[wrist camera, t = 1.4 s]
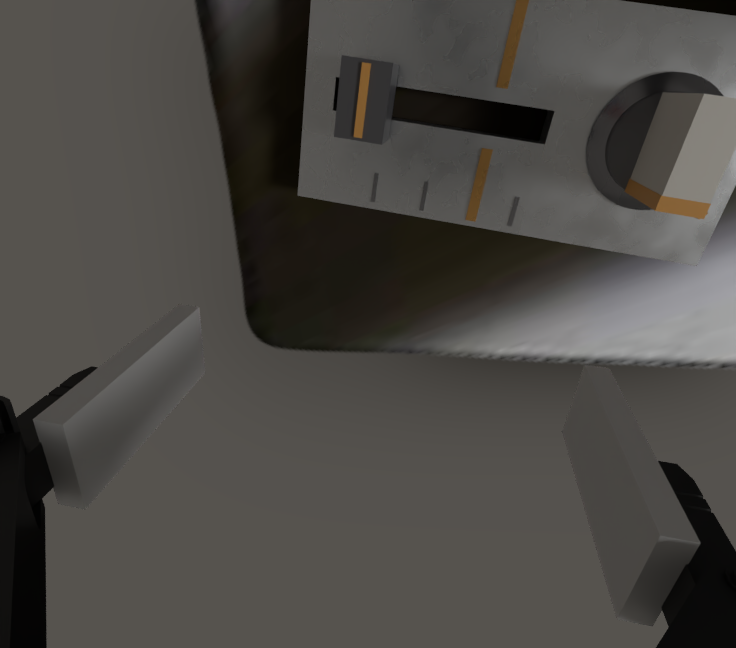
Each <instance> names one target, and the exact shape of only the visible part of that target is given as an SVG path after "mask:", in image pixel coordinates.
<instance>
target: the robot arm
mask: <svg viewBox="0 0 736 648" xmlns="http://www.w3.org/2000/svg"><path fill="white" fill-rule="evenodd" d="M204 374H205V364H204V354H203V344H202V332H201V320H200V309H199V307H196V306H189V305H182V304H178V305H177V306H176V307H174V308H173V309H172V310H171V311H169V312H168V313H167V314H166V315H164V316H163V317H162V318H160V319H159V320H158V321H157V322H155V323H154V324H153V325H152V326H150V327H149V328H148V329H147V330H145V331H144V332H143V333H142V334H140V335H139V336H138V337H136V338H135V339H134V340H133V341H131V342H130V343H129V344H128V345H126V346H125V347H124V348H123V349H121V350H120V351H119V352H117V353H116V354H115V355H114V356H112V357H111V358H110V359H109V360H107V361H106V362H105V363H104V364H102V365H101V366H100V367H98V368H97V367H89V368H87V369H85V370H83V371H80V372H78V373H76V374H74V375H72V376H71V377H70V378H68V379H67V380H66V381H64V382H63V383H62V384H60V387H57V388H55V389H54V390H52V391H51V392H50V393H49V395H48V396H47V395H46V396H44V397H43V398H42V399H41V400H39V401H38V402H37V403H35V404H34V405H33V406H31V407H30V408H29V409H27V410H26V411H25V412H23V413H22V414H21V415H19V416H18V417H17V418H16V416H15V413H14V411H13V407H12V404H11V402H10V400H9V399H7V398H5V397H3V396H0V648H46V569H45V568H46V562H45V560H46V558H45V507H44V503H43V500H42V498H43V497H44V496H45V495H46V494H47V493H48V492H49V491H50V490H51V489H52V488H54V491H55V494H56V498H57V501H58V504H61V505H66V506H71V507H76V508H81V509H86V508H87V507H88V506H89V505H90V504H91V503H92V501H93V500H94V499H95V498H96V497H97V496H98V494H99V493H100V492H101V491H102V490H103V489H104V488H105V486H106V485H107V484H108V483H109V482H110V481H111V480H112V479H113V477H114V476H115V475H116V474H117V473H118V472H119V471H120V469H121V468H122V467H123V466H124V465H125V464H126V463H127V461H128V460H129V459H130V458H131V457H132V456H133V455H134V453H135V452H136V451H137V450H138V449H139V448H140V447H141V445H142V444H143V443H144V442H145V441H146V440H147V439H148V437H149V436H150V435H151V434H152V433H153V432H154V431H155V430H156V428H157V427H158V426H159V425H160V424H161V423H162V422H163V420H164V419H165V418H166V417H167V416H168V415H169V413H170V412H171V411H172V410H173V409H174V408H175V407H176V406H177V404H178V403H179V402H180V401H181V400H182V399H183V397H184V396H185V395H186V394H187V393H188V392H189V391H190V390H191V388H192V387H193V386H194V385H195V384H196V383H197V382H198V380H199V379H200V378H201V377H202V376H203V375H204ZM562 433H563V437H564V440H565V444H566V447H567V450H568V454H569V457H570V461H571V464H572V467H573V471H574V474H575V478H576V481H577V485H578V488H579V491H580V495H581V498H582V501H583V505H584V509H585V512H586V515H587V519H588V522H589V525H590V529H591V532H592V536H593V539H594V542H595V546H596V549H597V552H598V556H599V560H600V563H601V566H602V570H603V573H604V577H605V580H606V584H607V587H608V590H609V594H610V597H611V601H612V604H613V608H614V611H615V614H616V618H617V619H619V620H624V621H629V622H633V623H639V624H643V625H649V626H653V625H654V623H655V621H656V619H657V618H658V616H659V614H660V613H661V611H663V613H664V616H665V618H666V621H667V624H668V626H669V628H668V630H667V631H666V633H665V634H664V636H663V638H662V639H661V641H660V642H659V644H658V645H657V647H656V648H736V551H735V549H734V548H733V546H732V544H731V543H730V541H729V539H728V537H727V536H726V534H725V533H724V531H723V529H722V527H721V526H720V524H719V522H718V520H717V519H716V517H715V515H714V514H713V513H711V509H710V507H709V505H708V503H707V502H706V500H705V499H703V495H702V493H701V492H700V490H699V488H698V486H697V485H696V483H695V481H694V480H693V479H692V478H691V477H690V476H689V475H688V474H687V473H686V472H685V471H684V470H683V469H681V467H679V466H678V465H677V464H673V463H667V462H661V461H657V459H656V457H655V455H654V453H653V451H652V449H651V447H650V445H649V443H648V441H647V439H646V438H645V436H644V434H643V432H642V430H641V428H640V426H639V424H638V422H637V420H636V418H635V417H634V415H633V413H632V411H631V409H630V407H629V405H628V403H627V401H626V399H625V397H624V395H623V394H622V392H621V390H620V388H619V386H618V384H617V382H616V380H615V378H614V376H613V374H612V373H611V371H610V369H609V368H604V367H597V366H590V365H584V368H583V371H582V374H581V377H580V380H579V383H578V386H577V389H576V392H575V395H574V398H573V401H572V404H571V407H570V410H569V413H568V416H567V419H566V422H565V425H564V427H563V430H562Z"/></svg>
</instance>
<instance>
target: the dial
mask: <svg viewBox="0 0 736 648" xmlns="http://www.w3.org/2000/svg"><path fill="white" fill-rule="evenodd" d="M735 148H736V98H731V97H724V96H717V95H710V94H701V93H690V92H684V91H664V92H659V93H655V94H652V95H649V96H647V97H644V98H642V99H641V100H639V101H637V102H636V103H634V104H633V105H631V106H630V107H629V108H628V109H627V110H626V111H625V112H624V113H623V114H622V115H621V116H620V117H619V118H618V120H617V121H616V123H615V124H614V126H613V128H612V129H611V131H610V134H609V136H608V139H607V143H606V148H605V161H606V166H607V169H608V172H609V174H610V176H611V177H612V179H613V180H614V181H615V182H616V183H617V184H618V185H619V186H620V187H622V188H623V189H625V191H624V192H626V193H627V194H629V195H631V196H632V197H634V198H635V199H637V200H639V201H640V202H642V203H643V204H645V205H647V206H648V207H650V208H651V209H653V210H654V211H659V212H665V213H671V214H677V215H683V216H689V217H694V218H700V219H704V218H705V216H706V214H707V212H708V209H709V207H710V205H711V204H710V202H711V200H712V198H713V196H714V194H715V191H716V189H717V187H718V185H719V183H720V181H721V178H722V176H723V174H724V172H725V170H726V168H727V165H728V163H729V161H730V159H731V157H732V155H733V152H734V150H735Z"/></svg>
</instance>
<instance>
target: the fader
mask: <svg viewBox="0 0 736 648" xmlns="http://www.w3.org/2000/svg"><path fill="white" fill-rule="evenodd" d="M398 71H399V65H398V64H395V63H390V62H384V61H377V60H371V59H364V58H357V57H351V56H344V55H342V57H341V67H340V78H339V88H338V98H337V109H336V119H335V129H334V137H338V138H344V139H350V140H356V141H362V142H368V143H374V144H380V145H382V144H384V143H385V142H386V141H387V140H388V139H389V133H390V126H391V119H392V112H393V105H394V98H395V91H396V85H397V78H398Z"/></svg>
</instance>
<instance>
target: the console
mask: <svg viewBox="0 0 736 648" xmlns="http://www.w3.org/2000/svg"><path fill="white" fill-rule="evenodd" d="M342 55H344V56H351V57H357V58H364V59H371V60H377V61H384V62H390V63H395V64H398V65H399V71H398V78H397V85H396V86H397V87H404V88H410V89H417V90H423V91H430V92H436V93H443V94H449V95H456V96H462V97H469V98H475V99H482V100H488V101H495V102H501V103H507V104H514V105H520V106H527V107H533V108H540V109H546V110H548V111H547V114H546V118H545V121H544V125H543V128H542V132H541V135H540V139H539V141H538V140H532V139H526V138H520V137H513V136H507V135H501V134H495V133H488V132H482V131H476V130H470V129H463V128H457V127H451V126H445V125H438V124H432V123H426V122H420V121H413V120H407V119H401V118H395V117H392V119H391V126H390V133H389V139H388V140H387V141H386V142H385V143H384V144H382V145H380V144H374V143H368V142H362V141H356V140H350V139H344V138H338V137H334V129H335V119H336V109H337V98H338V88H339V78H340V67H341V57H342ZM664 91H684V92H690V93H701V94H710V95H717V96H724V97H731V98H736V16H733V15H725V14H718V13H710V12H703V11H695V10H688V9H680V8H673V7H666V6H658V5H651V4H643V3H636V2H628V1H621V0H311V6H310V21H309V36H308V51H307V65H306V80H305V95H304V110H303V125H302V139H301V154H300V169H299V184H298V196H303V197H309V198H314V199H320V200H326V201H331V202H337V203H343V204H348V205H354V206H360V207H365V208H371V209H377V210H382V211H388V212H394V213H399V214H405V215H411V216H416V217H422V218H427V219H433V220H439V221H444V222H450V223H456V224H461V225H467V226H473V227H478V228H484V229H490V230H495V231H501V232H507V233H512V234H518V235H524V236H529V237H535V238H541V239H546V240H552V241H558V242H563V243H569V244H574V245H580V246H586V247H591V248H597V249H603V250H608V251H614V252H620V253H625V254H631V255H637V256H642V257H648V258H654V259H659V260H665V261H671V262H676V263H682V264H688V265H693V266H697V265H698V263H699V261H700V258H701V256H702V254H703V252H704V250H705V248H706V246H707V244H708V242H709V240H710V238H711V235H712V233H713V231H714V229H715V227H716V225H717V223H718V221H719V219H720V217H721V214H722V212H723V210H724V208H725V206H726V204H727V202H728V200H729V198H730V196H731V194H732V191H733V189H734V187H735V185H736V148H735V150H734V152H733V155H732V157H731V159H730V161H729V163H728V165H727V168H726V170H725V172H724V174H723V176H722V178H721V181H720V183H719V185H718V187H717V189H716V191H715V194H714V196H713V198H712V200H711V202H710V204H711V205H710V207H709V209H708V212H707V214H706V216H705V218H704V219H700V218H694V217H689V216H683V215H677V214H671V213H665V212H659V211H654V210H653V209H651V208H650V207H648V206H647V205H645V204H643V203H642V202H640V201H639V200H637V199H635V198H634V197H632V196H631V195H629V194H627V193H626V192H624V191H625V189H623V188H622V187H620V186H619V185H618V184H617V183H616V182H615V181H614V180H613V179H612V177H611V176H610V174H609V172H608V169H607V166H606V161H605V148H606V143H607V139H608V136H609V134H610V131H611V129H612V128H613V126H614V124H615V123H616V121H617V120H618V118H619V117H620V116H621V115H622V114H623V113H624V112H625V111H626V110H627V109H628V108H629V107H630V106H631V105H633V104H634V103H636V102H637V101H639V100H641V99H642V98H644V97H647V96H649V95H652V94H655V93H659V92H664Z"/></svg>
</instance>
